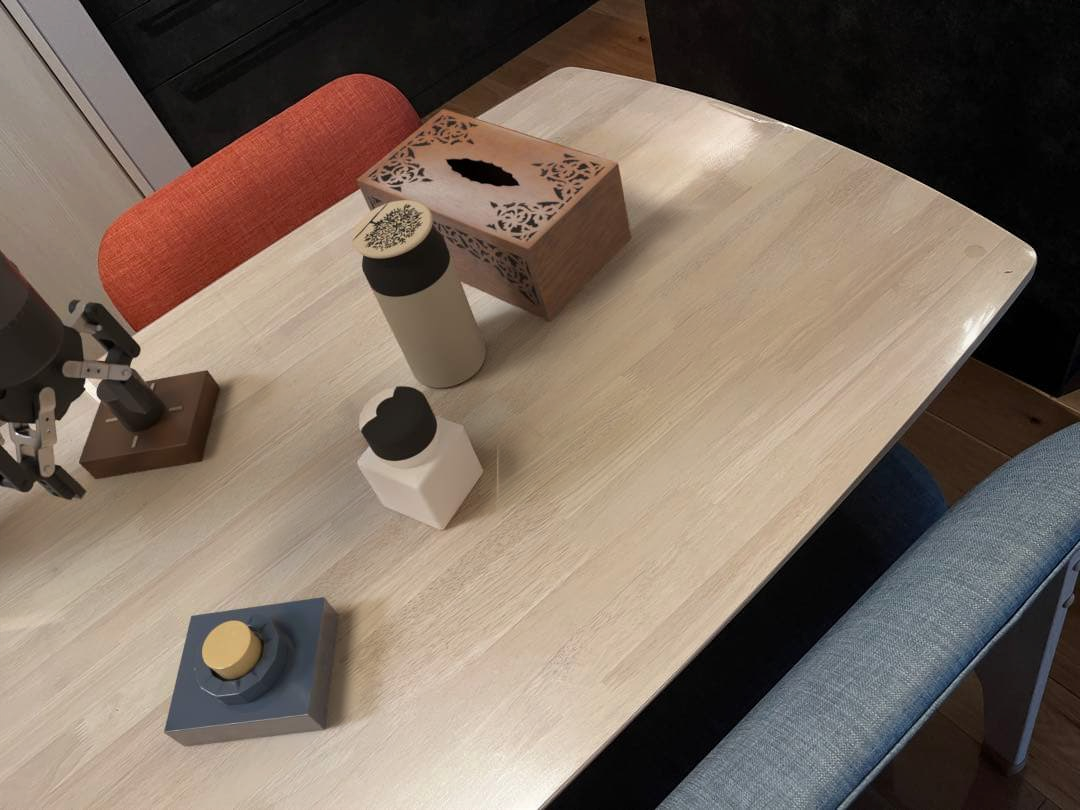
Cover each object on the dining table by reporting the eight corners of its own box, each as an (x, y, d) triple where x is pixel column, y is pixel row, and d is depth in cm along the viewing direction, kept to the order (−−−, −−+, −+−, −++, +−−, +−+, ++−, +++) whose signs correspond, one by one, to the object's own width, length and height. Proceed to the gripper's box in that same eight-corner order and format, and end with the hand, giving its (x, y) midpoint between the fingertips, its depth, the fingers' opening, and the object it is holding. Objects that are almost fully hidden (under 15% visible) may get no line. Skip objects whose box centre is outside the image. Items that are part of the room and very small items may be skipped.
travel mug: (502, 348, 94) (452, 211, 80) (451, 401, 91) (390, 267, 77) (448, 322, 98) (391, 188, 85) (397, 372, 95) (331, 240, 81)
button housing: (184, 747, 73) (150, 724, 69) (209, 631, 80) (179, 605, 76) (325, 730, 71) (298, 706, 68) (338, 613, 78) (315, 586, 74)
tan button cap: (209, 682, 71) (196, 671, 70) (219, 634, 74) (207, 623, 72) (257, 676, 71) (245, 665, 69) (266, 628, 73) (254, 617, 72)
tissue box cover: (386, 247, 109) (356, 180, 101) (466, 177, 114) (443, 108, 107) (549, 321, 95) (528, 249, 87) (631, 237, 100) (618, 163, 93)
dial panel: (95, 479, 95) (77, 461, 92) (120, 405, 101) (104, 387, 99) (201, 461, 93) (186, 443, 91) (220, 387, 99) (206, 368, 97)
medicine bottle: (485, 471, 84) (448, 388, 75) (443, 533, 81) (398, 454, 72) (425, 448, 88) (382, 366, 79) (382, 506, 84) (332, 428, 75)
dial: (119, 434, 94) (88, 402, 90) (130, 402, 96) (101, 369, 92) (158, 427, 93) (129, 394, 89) (168, 395, 96) (140, 361, 92)
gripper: (5, 232, 66) (128, 377, 78) (-144, 379, 58) (18, 515, 71) (79, 241, 63) (195, 390, 75) (-67, 397, 56) (87, 535, 68)
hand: (109, 450), depth 73 cm, fingers open, 8 cm apart
